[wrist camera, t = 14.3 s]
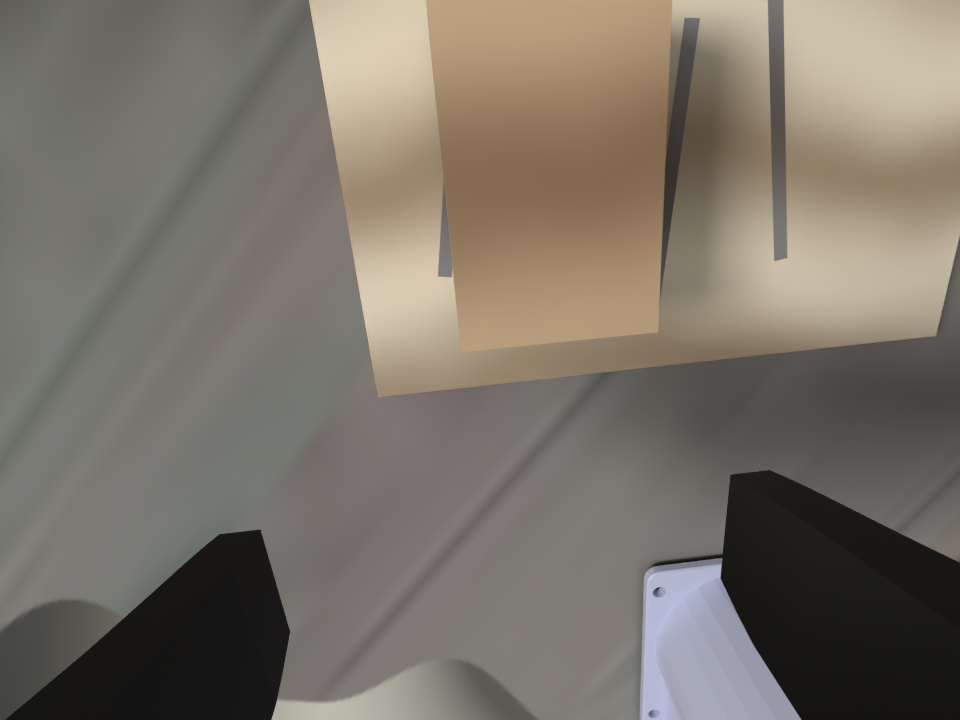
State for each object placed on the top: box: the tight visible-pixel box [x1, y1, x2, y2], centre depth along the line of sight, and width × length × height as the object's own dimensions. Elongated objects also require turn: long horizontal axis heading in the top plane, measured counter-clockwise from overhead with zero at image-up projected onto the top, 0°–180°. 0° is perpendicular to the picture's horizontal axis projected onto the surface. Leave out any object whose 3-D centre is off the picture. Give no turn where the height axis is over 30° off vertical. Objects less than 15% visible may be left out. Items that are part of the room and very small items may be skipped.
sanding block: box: [426, 0, 672, 352], centre depth 13 cm, size 7×4×4 cm, turn 5°
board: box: [309, 0, 960, 397], centre depth 15 cm, size 12×18×1 cm, turn 95°
